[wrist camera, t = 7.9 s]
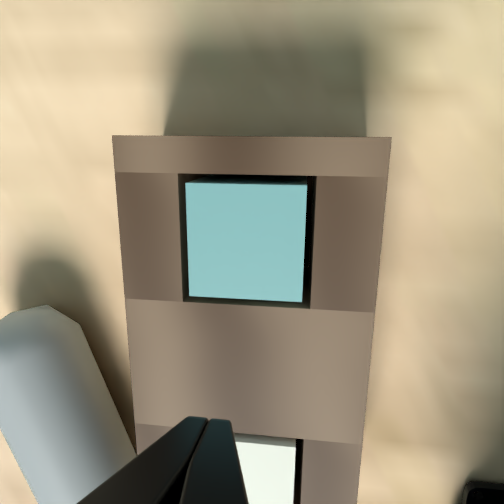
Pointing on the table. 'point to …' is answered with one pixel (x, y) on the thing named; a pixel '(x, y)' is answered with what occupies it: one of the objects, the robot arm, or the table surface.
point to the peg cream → (267, 467)
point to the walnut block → (256, 302)
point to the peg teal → (246, 236)
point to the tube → (57, 407)
